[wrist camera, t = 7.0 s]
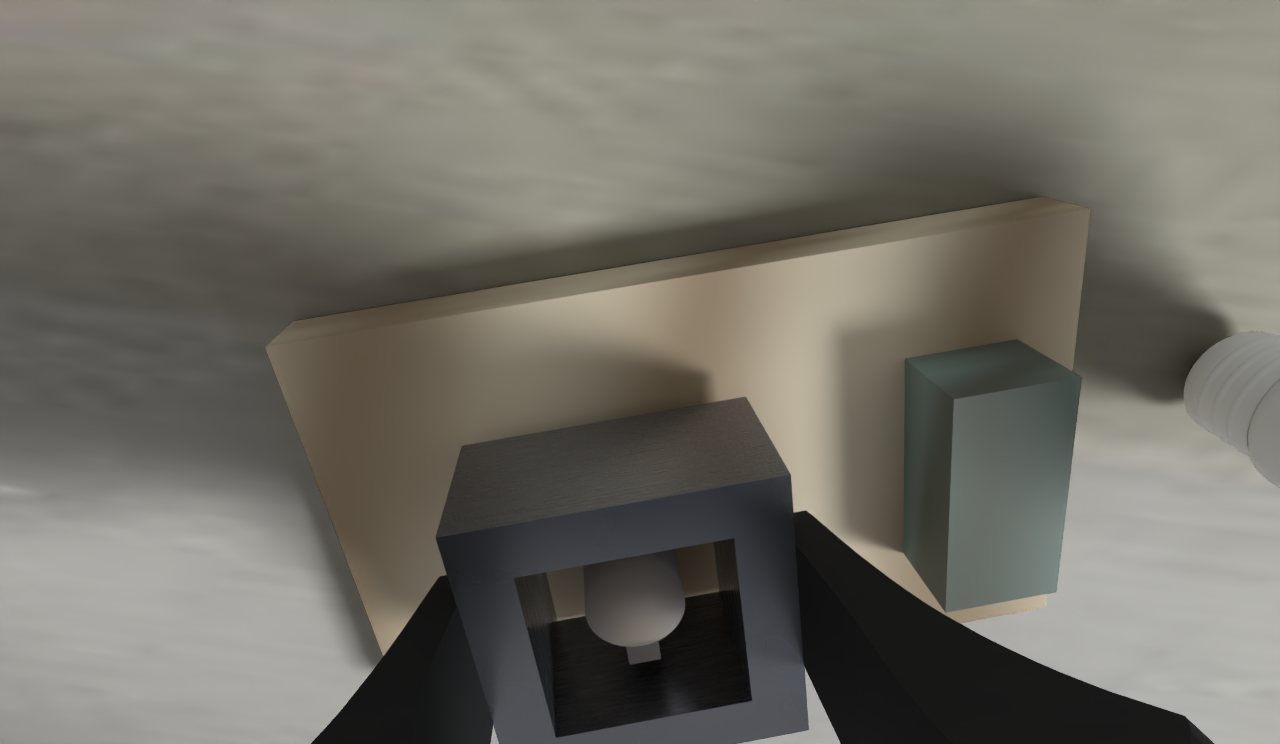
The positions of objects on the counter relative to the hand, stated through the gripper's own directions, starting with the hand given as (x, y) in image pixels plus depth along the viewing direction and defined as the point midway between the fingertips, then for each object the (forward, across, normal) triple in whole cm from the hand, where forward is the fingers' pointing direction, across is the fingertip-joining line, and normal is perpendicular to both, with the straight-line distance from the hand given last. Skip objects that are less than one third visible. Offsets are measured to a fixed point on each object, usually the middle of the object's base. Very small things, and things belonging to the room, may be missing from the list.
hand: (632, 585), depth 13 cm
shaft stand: (+4, -2, 0) cm, 4 cm away
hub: (+2, 0, 0) cm, 2 cm away
